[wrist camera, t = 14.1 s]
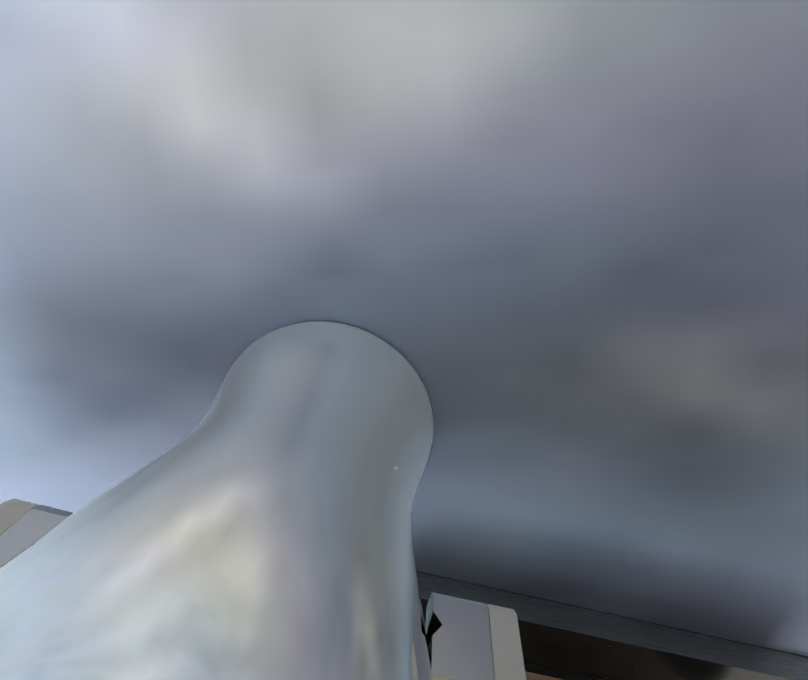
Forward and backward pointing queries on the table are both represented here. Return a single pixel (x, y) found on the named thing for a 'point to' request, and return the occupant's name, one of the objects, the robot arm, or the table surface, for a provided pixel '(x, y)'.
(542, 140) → the table surface
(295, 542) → the beer glass
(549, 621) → the track
